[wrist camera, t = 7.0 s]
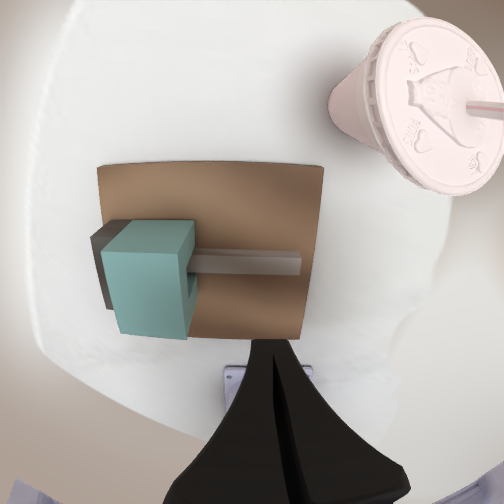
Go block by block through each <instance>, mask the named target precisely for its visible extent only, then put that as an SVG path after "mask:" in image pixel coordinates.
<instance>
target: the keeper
mask: <svg viewBox="0 0 504 504" xmlns="http://www.w3.org/2000/svg"><path fill="white" fill-rule="evenodd" d="M194 247H195V224H194V220H132V221H131V222H130V223H129V224H128V225H127V226H126V227H125V228H124V229H123V230H122V231H121V232H120V233H119V234H118V235H117V236H116V237H115V238H113V239H112V240H111V241H110V242H109V244H108V245H107V246H106V247H105V248H104V249H103V250H102V251H101V256H102V261H103V266H104V271H105V275H106V280H107V284H108V288H109V293H110V297H111V301H112V304H113V308H114V312H115V316H116V319H117V323H118V326H119V329H120V333H122V334H130V335H139V336H148V337H158V338H169V339H181V340H187V337H188V333H189V329H190V325H191V320H192V316H193V312H194V308H195V304H196V300H197V296H198V285H197V273H187V272H186V268H187V265H188V262H189V260H190V257H191V255H192V252H193V250H194Z"/></svg>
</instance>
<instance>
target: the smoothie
mask: <svg viewBox="0 0 504 504" xmlns="http://www.w3.org/2000/svg"><path fill="white" fill-rule="evenodd" d="M328 111H329V115H330V117H331V120H332V121H333V123H334V124H335V126H336V127H337V128H338V129H339V130H341V131H342V132H344V133H345V134H347V135H349V136H351V137H353V138H355V139H357V140H359V141H360V142H362V143H364V144H366V145H368V146H369V147H371V148H373V149H375V150H376V151H378V152H380V153H381V154H383V155H385V156H386V158H387V160H388V161H389V162H390V163H391V164H392V165H393V166H394V167H395V168H396V169H397V170H398V172H399V173H400V174H401V175H402V176H403V177H404V178H406V179H408V180H409V181H411V182H413V183H414V184H416V185H418V186H419V187H421V188H424V189H429V190H432V191H434V192H437V193H439V194H443V195H448V196H460V195H465V194H469V193H471V192H474V191H475V190H477V189H479V188H480V187H481V186H483V185H484V184H485V183H486V182H487V181H488V180H489V179H490V178H491V176H492V175H493V174H494V172H495V171H496V169H497V167H498V166H499V164H500V161H501V159H502V156H503V153H504V91H503V88H502V85H501V83H500V80H499V77H498V75H497V73H496V71H495V69H494V67H493V65H492V63H491V62H490V61H489V59H488V57H487V56H486V54H485V53H484V52H483V50H482V49H481V48H480V47H479V46H478V45H477V43H476V42H475V41H474V40H473V39H472V38H470V37H469V36H468V35H467V34H466V33H464V32H463V31H462V30H460V29H459V28H457V27H455V26H454V25H452V24H450V23H448V22H445V21H443V20H439V19H436V18H430V17H418V18H413V19H409V20H407V21H405V22H400V23H397V24H395V25H393V26H391V27H390V28H388V29H386V30H384V31H383V32H382V33H381V34H380V35H379V37H378V38H377V39H376V40H375V41H374V43H373V44H372V45H371V47H370V50H369V53H368V56H367V58H366V59H365V60H364V61H363V62H362V63H361V64H360V65H359V66H357V67H356V68H355V69H354V70H353V71H352V72H351V73H350V74H349V75H348V76H347V77H345V78H344V79H343V80H342V81H341V82H340V83H339V84H338V85H337V86H336V87H335V88H334V89H333V90H332V92H331V94H330V96H329V100H328Z"/></svg>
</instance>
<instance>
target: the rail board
mask: <svg viewBox="0 0 504 504" xmlns="http://www.w3.org/2000/svg"><path fill="white" fill-rule="evenodd" d="M323 174H324V168H323V167H321V166H312V165H299V164H285V163H267V162H241V161H173V162H147V163H130V164H116V165H104V166H100V167H98V168H97V175H98V186H99V196H100V205H101V213H102V221H103V227H101V228H100V229H99V230H98V231H97V232H96V233H94V234H93V235H92V236H91V237H90V239H91V244H92V250H93V255H94V260H95V264H96V269H97V273H98V278H99V282H100V286H101V290H102V294H103V298H104V301H105V305H106V309H110V310H114V308H113V304H112V301H111V297H110V293H109V288H108V284H107V280H106V275H105V271H104V266H103V261H102V256H101V251H102V250H103V249H104V248H105V247H106V246H107V245H108V244H109V242H110V241H111V240H112V239H113V238H115V237H116V236H117V235H118V234H119V233H120V232H121V231H122V230H123V229H124V228H125V227H126V226H127V225H128V224H129V223H130V222H131V221H132V220H194V224H195V247H194V250H193V252H192V255H191V257H190V260H189V262H188V265H187V268H186V272H187V273H197V285H198V296H197V300H196V304H195V308H194V312H193V316H192V320H191V325H190V329H189V333H188V337H199V338H219V339H287V340H295V339H299V338H300V333H301V328H302V323H303V317H304V312H305V306H306V300H307V294H308V288H309V282H310V276H311V269H312V263H313V256H314V249H315V242H316V235H317V227H318V219H319V211H320V202H321V194H322V184H323Z"/></svg>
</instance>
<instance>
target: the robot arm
mask: <svg viewBox="0 0 504 504" xmlns="http://www.w3.org/2000/svg"><path fill="white" fill-rule="evenodd" d="M229 375H231V376H229ZM312 375H313V369H312V368H311V367H302V366H301V364H300V363H299V361H298V359H297V357H296V355H295V353H294V351H293V349H292V347H291V345H290V343H289V341H288V340H287V339H253V340H252V341H251V351H250V356H249V360H248V364H247V367H246V368H242V367H227V368H225V369H224V389H225V409H226V415H225V417H224V418H223V420H222V422H221V423H220V425H219V426H218V428H217V430H216V431H215V433H214V434H213V436H212V437H211V438H210V440H209V441H208V443H207V444H206V445H205V447H204V448H203V449H202V450H201V452H200V453H199V454H198V455H197V457H196V458H195V459H194V460H193V461H192V463H191V464H190V465H189V466H188V467H187V468H186V469H185V470H184V471H183V472H182V473H181V474H180V475H179V476H178V477H177V479H176V480H175V481H174V482H173V484H172V485H171V487H170V489H169V491H168V493H167V494H166V497H165V499H164V501H163V504H393V502H395V501H397V500H398V499H400V498H401V497H403V496H405V495H406V494H407V493H408V492H409V491H410V489H411V486H410V483H409V480H408V477H407V475H406V473H405V471H404V469H403V467H402V466H401V465H399V464H397V463H396V462H394V461H392V460H391V459H389V458H388V457H386V456H384V455H383V454H382V453H380V452H379V451H377V450H376V449H375V448H373V447H372V446H371V445H369V444H368V443H367V442H366V441H365V440H363V439H362V438H361V437H360V436H359V435H358V434H357V433H355V432H354V431H353V430H352V429H351V428H350V427H349V426H348V425H347V424H346V423H345V422H344V421H343V420H342V419H341V418H340V417H339V416H338V415H337V414H336V413H335V412H334V410H333V409H332V408H331V407H330V406H329V405H328V403H327V402H326V401H325V400H324V398H323V397H322V396H321V394H320V393H319V392H318V390H317V389H316V388H315V386H314V385H313V383H312V382H311V378H312ZM7 504H62V503H60V502H57V501H56V500H53V499H52V498H51V497H49V496H47V495H46V494H44V493H43V492H41V491H39V490H37V489H35V488H34V487H32V486H30V485H28V484H27V483H25V482H23V481H21V480H20V479H18V478H16V479H15V482H14V484H13V487H12V490H11V493H10V497H9V500H8V503H7ZM433 504H504V461H503V462H501V463H500V464H499V465H497V466H496V467H494V468H493V469H491V470H490V471H488V472H487V473H485V474H484V475H483V476H481V477H480V478H479V479H478V480H476V481H475V482H473V483H471V484H470V485H468V486H466V487H464V488H462V489H461V490H459V491H457V492H455V493H453V494H451V495H449V496H447V497H445V498H443V499H441V500H439V501H437V502H435V503H433Z"/></svg>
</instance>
